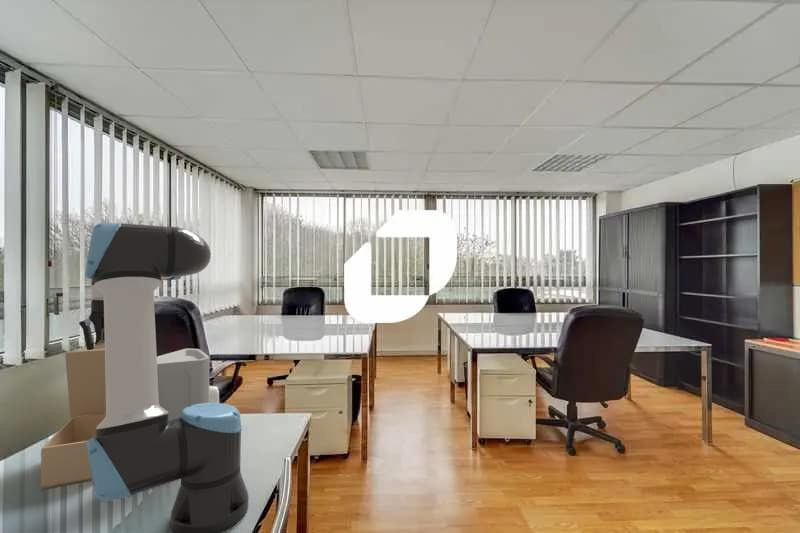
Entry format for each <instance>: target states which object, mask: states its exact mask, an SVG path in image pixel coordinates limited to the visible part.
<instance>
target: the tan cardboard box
mask: <svg viewBox="0 0 800 533" xmlns="http://www.w3.org/2000/svg"><path fill="white" fill-rule="evenodd" d="M64 357H65V368H66V370H65V371H66V380H67V392H68V393H67V394H68V405H69V406H68V407H69V417H70V418H72V417H80V416H88V415H95V414H103V413H106V382H105V339H103V340H99V342H98V343H97V345H96V346H95V345H94V349H93V350H87V349H82V350H70V351H69V350H68V351H65V352H64Z"/></svg>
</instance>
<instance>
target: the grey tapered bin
mask: <svg viewBox="0 0 800 533" xmlns="http://www.w3.org/2000/svg"><path fill="white" fill-rule="evenodd" d="M210 358H211V357H210V356H209V355H207V354H206V353H205V352H204V351H202V350H201V349H200V348H183V349H179V350H176V351H173V352H172V351H171V352H169V353H164V354H162V355H158V356H157V373H158V394H159V405H160V406H161V407H162V408H164V409H165V410H167V411H168V418H169V421H170V420H174V419H178V418H181V417H180V415H181V413H182V410H183V409H185V408H186V407H189V406H191V405H195V404H201V403H209V386H210V361H211V360H210Z"/></svg>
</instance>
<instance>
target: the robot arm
mask: <svg viewBox="0 0 800 533" xmlns="http://www.w3.org/2000/svg"><path fill="white" fill-rule="evenodd" d="M89 240H90V241H89V246H88V251H87V252H88V253H87V257H86V258H87V259H86V262H85V263H86V265H85V272H84V277H85V278H87V279H90V280H91V288H90V289H91V290H90V291H91V292H90V297H91V298H92V300H91V302H90V314H89V316H88V318H87V319H84V320H81V321H79V323H78V324H79V326H80V327H81V329H82V331H83V336H84V342H85V347H86V350H93V349H94V347H95V346H96V345H97V343H98V342H99V340H105V382H106V416H105V418H104V420H103V421H102V422H101V423H100V424H99V425H98V426H97V427H96V438H95V437H93V438H91V439H90V440H88V441H87V442H86V447H87V455H88V461H89V467H90V473H91V478H92V481H91V483H92V486H93V491H94V494H95V497H96V500H98V501H100V502H102V503H109V502H113V501H116V500H117V501H118V500H120V499H124V498H131V497H132V496H133V495H136V494H139V493H142V492H145V491H149V490H151V489H154V488H157V487H160V486H163V485H167V484H169V483H174V482H175V481H178V480H180V484H179V486H180V487H179V489H178V492H177V493H176V494H177V495H176V498H175V500H174V502H173V506H172V508H171V512H170V529H171V530H172V531H171V532H173V533H221V532H224V531H227V530H228V529H230V528H231V527H233V526H234V525H235V524H237V523H238V522H240V521H241V520H242V518H243V517H244V516H245V515H246V513H247V512H248V509H249V493H248V489H247V487H246V484H245V480H244V479H243V475H242V473H241V472H242V471H241V449H242V448H241V446H242V444H241V443H242V442H241V441H242V430H243V428H242V421H241V412H240V411H239V409H238V408H237V407H236V406H234V405H232V404H228V403H224V402H222V403H221V402H219V403H201V404H195V405H191V406H189V407H186V408H185V409H183V410H182V413H181V415H180V417H181V418H178V419H174V420H170V421H169V418H168V411H167V410H165V409H164V408H162V407H161V406H160V405H159V394H158V373H157V357H158V356H157V353H158V352H157V338H156V337H157V336H156V334H157V333H156V316H155V314H156V313H155V294H154V293H155V290H157V289H158V288H159V287H160V286H161V285H162V281H175V280H176V281H177V280H181V279H182V277H184V276H185V277H186V276H192V275H195V274H198V273H200V272H202V271H203V270H205V269H206V268H207V266H208V265H209V263H210V261H211V249H210V246H209V244H208V243H207V241H206V240H205V239H204V238H203V237H201V236H200V235H199V234H197V233H196V232H193V231H191V230H189V229H185V228H182V227H179V226H178V227H177V226H163V225H162V226H161V225H150V224H148V225H147V224H138V223H137V224H136V223H123V222H100V223H97V224H95V226H93V228H92V230H91V235H90V239H89ZM91 323H92V324H93V325H94V326H95V327H96V329H95V331H96V335H95V336H96V337H95V343H94V338H93V335H92V329H91Z"/></svg>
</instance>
